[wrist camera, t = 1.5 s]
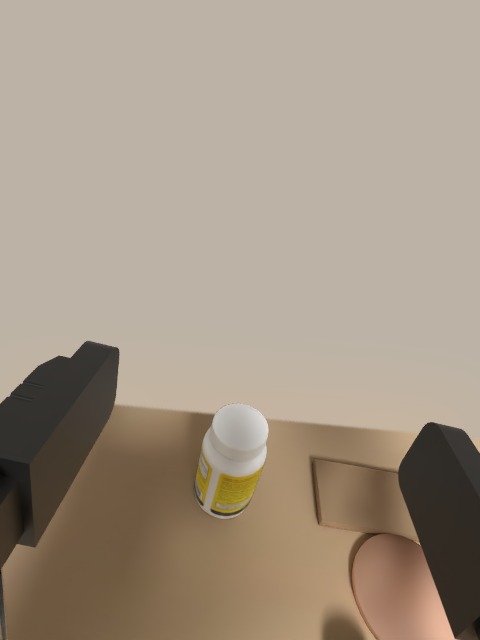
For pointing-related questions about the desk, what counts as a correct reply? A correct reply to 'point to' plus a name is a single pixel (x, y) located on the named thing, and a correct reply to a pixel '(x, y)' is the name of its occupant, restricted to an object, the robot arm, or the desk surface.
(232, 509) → the supplement bottle
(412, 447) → the robot arm
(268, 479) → the desk surface
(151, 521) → the desk surface
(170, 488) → the desk surface
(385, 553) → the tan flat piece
